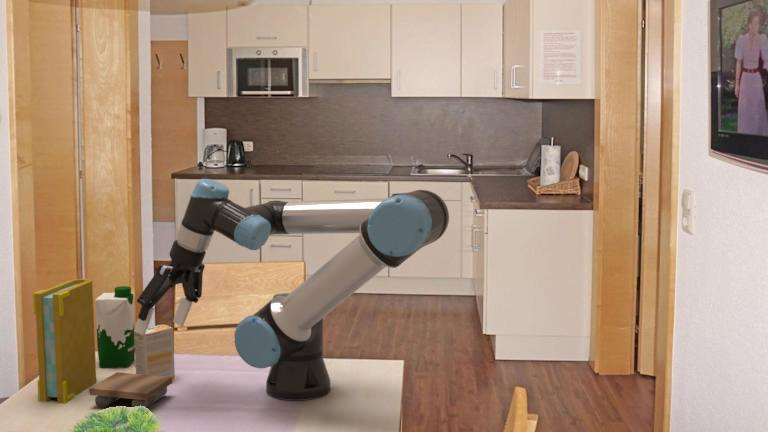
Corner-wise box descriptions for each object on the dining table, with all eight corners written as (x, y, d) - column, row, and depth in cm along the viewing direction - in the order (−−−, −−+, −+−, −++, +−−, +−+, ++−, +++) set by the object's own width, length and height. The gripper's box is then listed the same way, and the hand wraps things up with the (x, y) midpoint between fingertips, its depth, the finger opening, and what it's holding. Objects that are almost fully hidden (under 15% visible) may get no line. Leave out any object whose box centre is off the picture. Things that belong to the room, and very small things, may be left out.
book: (65, 403, 209) (60, 295, 206) (38, 400, 210) (32, 293, 207) (102, 379, 225) (98, 279, 222) (77, 378, 227) (72, 278, 223)
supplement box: (164, 374, 230) (163, 323, 228) (175, 379, 226) (173, 327, 224) (135, 382, 224) (133, 329, 222) (145, 387, 221) (143, 333, 219)
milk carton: (129, 369, 234) (127, 291, 231) (94, 368, 234) (90, 291, 231) (139, 358, 243) (136, 284, 240) (104, 358, 243) (101, 284, 240)
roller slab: (172, 395, 214) (171, 376, 214) (147, 413, 203) (146, 393, 202) (117, 390, 218) (117, 372, 217) (90, 407, 206) (89, 388, 205)
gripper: (211, 235, 221) (181, 313, 225) (141, 240, 198) (109, 327, 203) (235, 249, 218) (204, 328, 222) (167, 256, 195) (134, 343, 200)
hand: (159, 328), depth 213 cm, fingers open, 13 cm apart
